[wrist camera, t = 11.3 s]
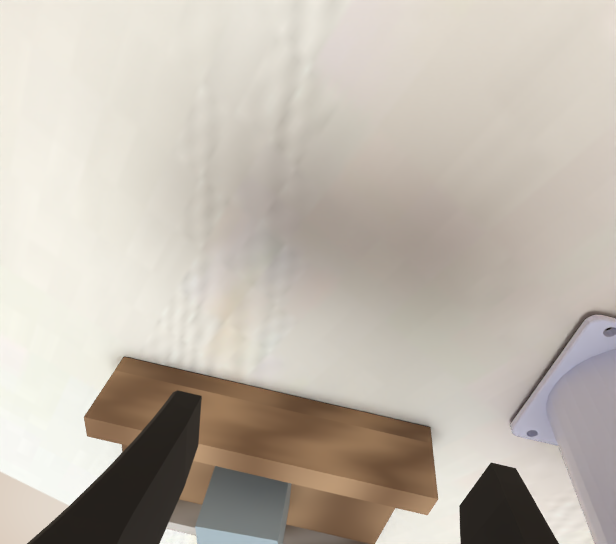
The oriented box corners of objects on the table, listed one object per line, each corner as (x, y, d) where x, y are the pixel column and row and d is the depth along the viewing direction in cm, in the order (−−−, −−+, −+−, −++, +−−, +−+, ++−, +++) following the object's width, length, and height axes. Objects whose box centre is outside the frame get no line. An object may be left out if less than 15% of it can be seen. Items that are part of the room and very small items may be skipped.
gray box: (294, 447, 25) (277, 540, 21) (289, 504, 29) (274, 594, 25) (225, 436, 26) (195, 526, 21) (227, 494, 29) (202, 581, 25)
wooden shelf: (430, 427, 24) (438, 499, 21) (368, 539, 32) (367, 605, 28) (123, 356, 24) (83, 417, 21) (133, 485, 32) (104, 544, 29)
